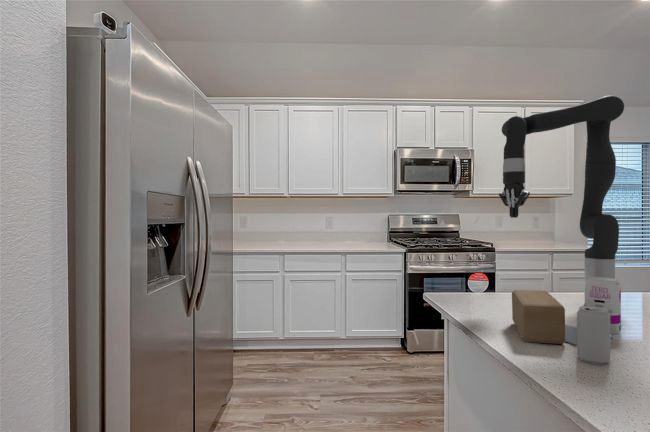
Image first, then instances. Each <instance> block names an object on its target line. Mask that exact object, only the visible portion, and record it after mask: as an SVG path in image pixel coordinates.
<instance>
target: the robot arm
mask: <svg viewBox="0 0 650 432" xmlns="http://www.w3.org/2000/svg"><path fill="white" fill-rule="evenodd" d="M624 111H625V103H624V100H622V99H621V98H620V97H619V96H616V95H605V96H601V97H600V98H598V99H595V100H592V101H589V102H585V103H582V104H579V105H575V106H570V107H564V108H557V109H552V110H547V111H542V112H537V113H534V114H531V115H529V116H526V117H523V116H520V115H514V116H511V117H510V118H509V119H508V120H506V121H504V123H503V124H502V125H501V126H502V127H501V133H502V134H503V136H504V137H506V139H505V141H506V142H505V145H504V147H503V163H502V184H503V185H504V186H503V191H502V192H499V194H498V196H499V198H500V200H501V201H502V203H503V204H504V206H506V207H508V209H509V217H510V219H511V218H512V219H513V218H518V216H519V207H521V206H524V204H525V202H526V201H527V199H528V198H529V196H530V195H531V193H530V191H527V190H525V185H524V184H525V183H526V162H525V143H526V137H527V135H530V134H535V133H542V132H548V131H552V130H557V129H561V128H565V127H568V126H573V125H576V124H579V123H584V122H585V123H586V137H587V140H586V151H585V153H586V154H585V164H584V165H585V166H584V189H583V199H582V200H583V201H582V207H581V214H580V219H579V230H580V233H581V234H582V235H583V236H584V237H585V238H587V239H592V245H591V246H590V247H589V248H586V249H585V250H584V265H583V266H584V296H583V297H584V305H586V282H587V280H588V279H589V277H608V278H615V279H616V254H617V253H618V250H619V240H620V239H619V237H620V236H619V235H620V224H619V222H618V220H617V218H616V216H614V215H612V214H610V213H609V214H608V213H603V204H604V201H605V198H606V196H607V194H608V192H609V191H610V189H611V187H612V185H613V183H614V181H615V178H616V168H617V167H616V165H617V159H616V154H615V152H614V149H613V145H612V144H611V140H610V131H611V124H612V122H614V121H615V120H617V119H618V118H619V117H620V116H622V115H623V113H624Z"/></svg>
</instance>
